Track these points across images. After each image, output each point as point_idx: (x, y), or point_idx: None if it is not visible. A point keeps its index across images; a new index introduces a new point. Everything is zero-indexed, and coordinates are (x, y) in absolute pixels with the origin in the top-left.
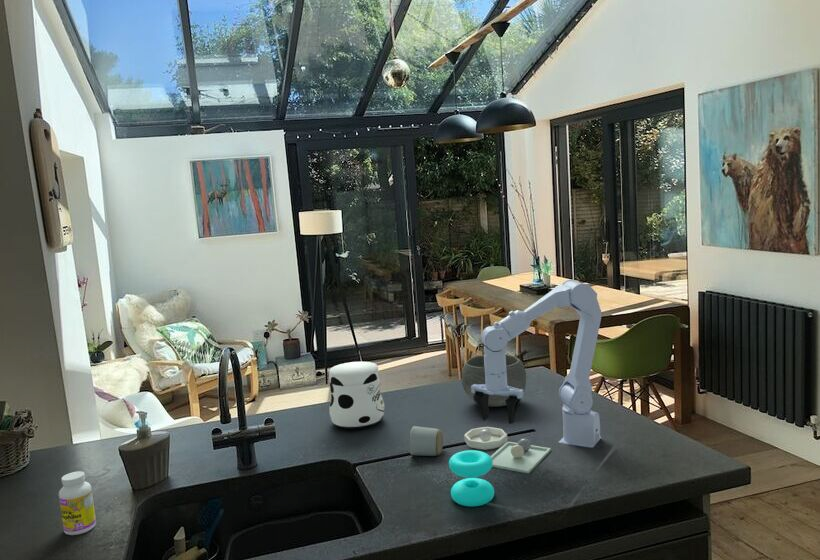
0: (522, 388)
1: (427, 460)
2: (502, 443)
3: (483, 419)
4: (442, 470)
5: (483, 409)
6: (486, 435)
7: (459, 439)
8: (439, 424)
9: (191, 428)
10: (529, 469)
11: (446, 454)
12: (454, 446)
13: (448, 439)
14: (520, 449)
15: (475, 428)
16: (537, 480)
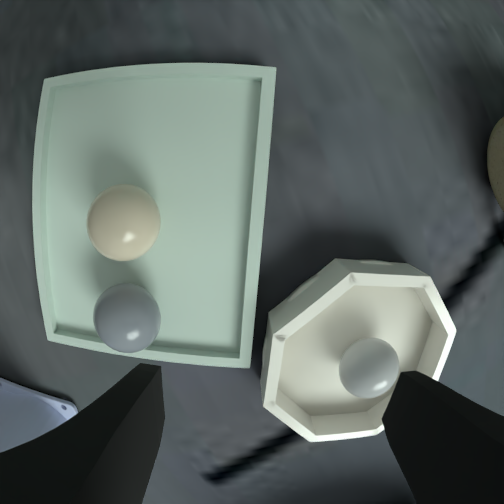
0: None
1: (496, 111)
2: (267, 343)
3: (417, 371)
4: (418, 27)
5: (460, 427)
6: (361, 354)
7: (455, 336)
8: (500, 399)
9: None
10: (43, 93)
11: (469, 179)
12: (463, 268)
13: (485, 319)
14: (90, 209)
15: None
16: (26, 69)
